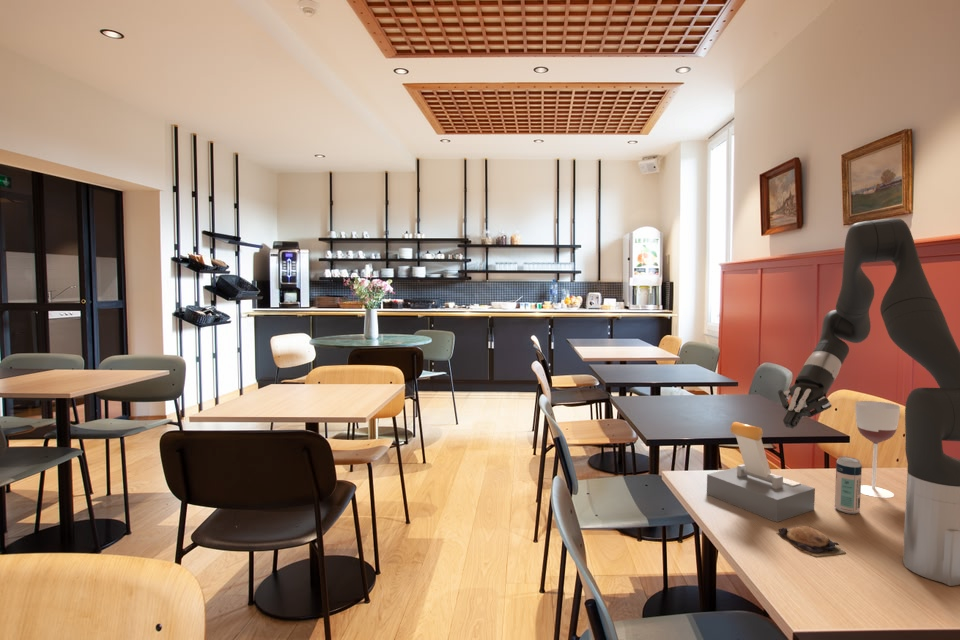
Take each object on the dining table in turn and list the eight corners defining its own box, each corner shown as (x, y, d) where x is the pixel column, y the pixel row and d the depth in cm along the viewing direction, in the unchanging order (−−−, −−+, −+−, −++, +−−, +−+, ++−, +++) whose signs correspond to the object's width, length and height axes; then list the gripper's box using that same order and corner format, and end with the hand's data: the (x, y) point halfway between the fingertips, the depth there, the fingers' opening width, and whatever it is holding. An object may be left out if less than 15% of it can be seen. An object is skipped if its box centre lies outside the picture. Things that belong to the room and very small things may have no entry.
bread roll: (849, 557, 102) (850, 538, 102) (811, 560, 101) (812, 542, 100) (806, 531, 113) (807, 514, 112) (771, 534, 111) (772, 517, 111)
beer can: (851, 506, 124) (854, 456, 123) (864, 515, 119) (866, 463, 119) (830, 505, 125) (832, 455, 124) (841, 514, 120) (844, 462, 119)
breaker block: (743, 484, 138) (744, 455, 138) (814, 509, 123) (815, 477, 122) (706, 494, 132) (707, 464, 131) (776, 522, 116) (777, 488, 115)
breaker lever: (750, 470, 131) (735, 418, 127) (778, 479, 125) (762, 425, 121) (743, 477, 129) (727, 425, 126) (770, 486, 123) (755, 432, 120)
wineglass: (843, 488, 136) (847, 403, 134) (866, 482, 140) (869, 399, 138) (881, 500, 128) (885, 410, 126) (904, 494, 132) (908, 406, 130)
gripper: (787, 360, 141) (756, 411, 136) (840, 366, 129) (809, 422, 124) (798, 378, 144) (768, 428, 139) (851, 386, 132) (821, 442, 127)
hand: (788, 425), depth 131 cm, fingers closed
